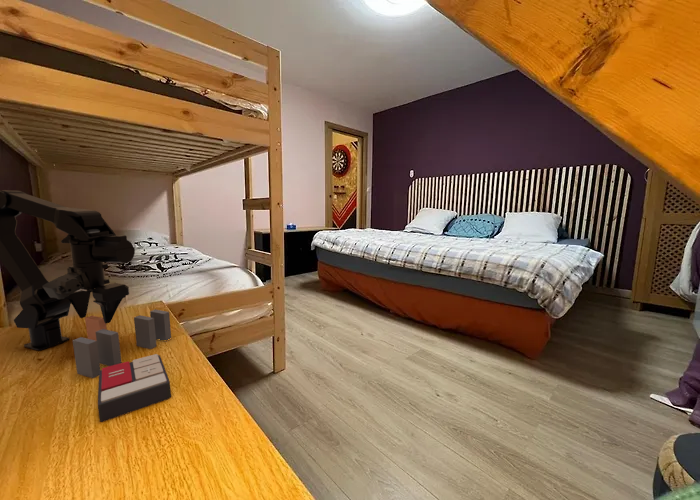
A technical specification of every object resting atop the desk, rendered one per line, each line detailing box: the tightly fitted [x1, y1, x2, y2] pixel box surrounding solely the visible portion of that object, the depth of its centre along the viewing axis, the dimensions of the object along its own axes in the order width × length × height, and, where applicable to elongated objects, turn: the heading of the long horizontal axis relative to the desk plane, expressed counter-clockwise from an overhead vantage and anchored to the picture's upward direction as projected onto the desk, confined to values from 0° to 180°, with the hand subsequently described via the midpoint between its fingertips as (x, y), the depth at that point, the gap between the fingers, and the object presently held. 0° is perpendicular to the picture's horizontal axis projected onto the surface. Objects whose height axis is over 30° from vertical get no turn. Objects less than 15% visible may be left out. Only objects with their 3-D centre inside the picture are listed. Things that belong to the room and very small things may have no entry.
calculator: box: [97, 353, 172, 423], centre depth 61 cm, size 11×4×15 cm
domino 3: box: [96, 329, 123, 367], centre depth 69 cm, size 5×2×8 cm, turn 72°
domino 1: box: [84, 315, 108, 341], centre depth 77 cm, size 5×2×8 cm, turn 72°
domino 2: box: [72, 336, 101, 379], centre depth 65 cm, size 5×2×8 cm, turn 72°
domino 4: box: [133, 314, 157, 350], centre depth 78 cm, size 5×2×8 cm, turn 72°
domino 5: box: [149, 308, 172, 341], centre depth 82 cm, size 5×2×8 cm, turn 72°
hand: (95, 320), depth 76 cm, fingers open, 9 cm apart
